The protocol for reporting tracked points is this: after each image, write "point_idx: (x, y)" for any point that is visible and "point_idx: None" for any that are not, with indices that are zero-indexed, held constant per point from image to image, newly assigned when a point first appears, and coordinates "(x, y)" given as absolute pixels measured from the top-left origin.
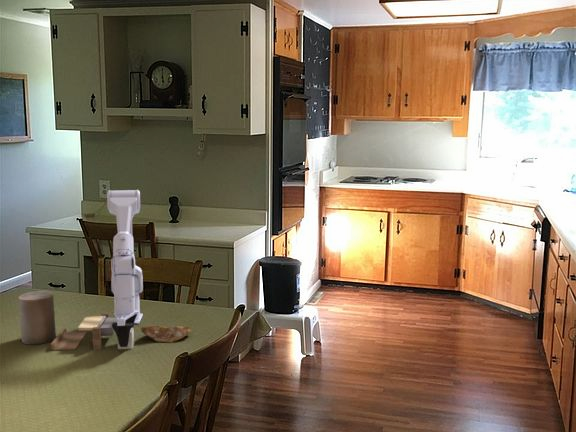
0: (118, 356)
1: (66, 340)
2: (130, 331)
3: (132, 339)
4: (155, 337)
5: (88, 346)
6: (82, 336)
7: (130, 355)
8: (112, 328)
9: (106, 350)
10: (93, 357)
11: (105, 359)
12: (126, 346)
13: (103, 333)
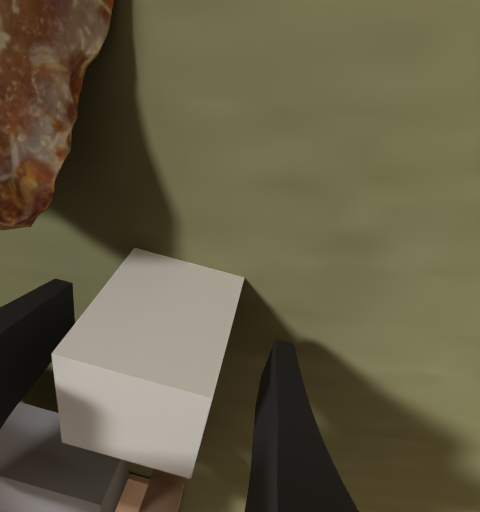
0: (371, 373)
1: None
2: (179, 400)
3: (191, 312)
4: (69, 46)
5: None
6: None
7: (394, 310)
8: (89, 488)
9: (228, 403)
10: None
11: (386, 432)
12: (295, 351)
13: (121, 488)
